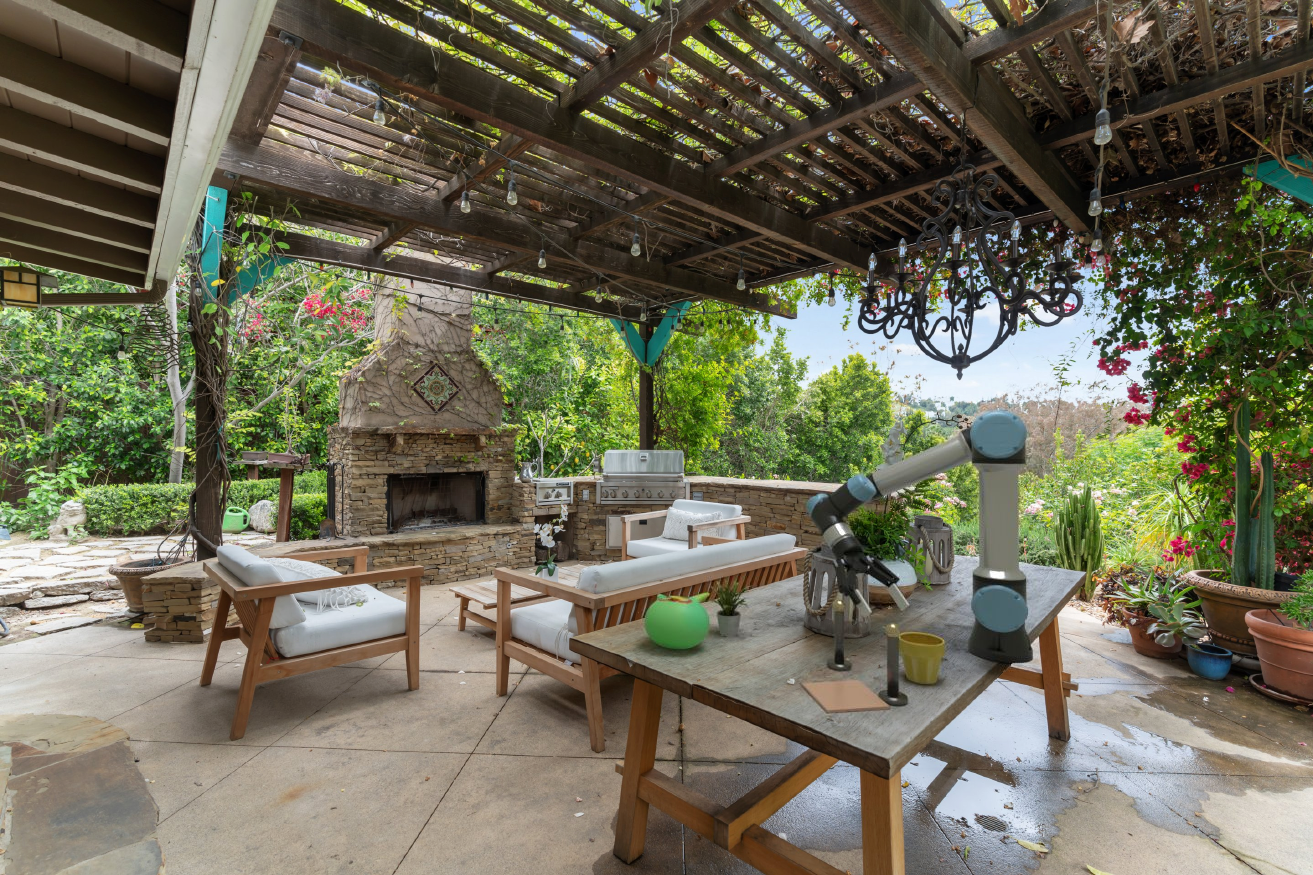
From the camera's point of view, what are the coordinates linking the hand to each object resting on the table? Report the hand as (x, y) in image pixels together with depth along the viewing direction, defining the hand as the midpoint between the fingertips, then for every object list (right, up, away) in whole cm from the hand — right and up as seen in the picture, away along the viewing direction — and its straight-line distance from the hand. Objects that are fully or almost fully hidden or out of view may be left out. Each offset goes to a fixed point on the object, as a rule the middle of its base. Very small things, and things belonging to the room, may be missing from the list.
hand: (887, 611), depth 150 cm
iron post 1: (-12, -14, -1) cm, 19 cm away
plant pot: (+5, -14, -8) cm, 17 cm away
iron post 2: (-7, -13, -20) cm, 25 cm away
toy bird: (-53, -14, +14) cm, 56 cm away
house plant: (-37, -14, +23) cm, 46 cm away
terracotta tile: (-17, -13, -19) cm, 29 cm away
